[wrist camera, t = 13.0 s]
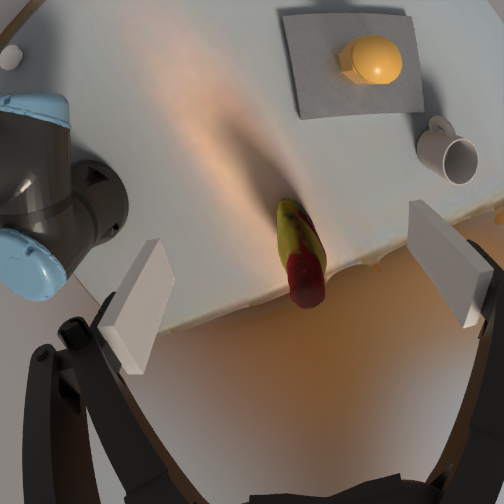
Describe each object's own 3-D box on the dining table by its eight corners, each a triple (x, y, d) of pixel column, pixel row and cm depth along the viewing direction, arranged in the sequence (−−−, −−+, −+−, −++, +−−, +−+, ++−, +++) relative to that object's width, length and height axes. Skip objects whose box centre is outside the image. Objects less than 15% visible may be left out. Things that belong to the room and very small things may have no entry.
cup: (420, 173, 45) (446, 191, 38) (406, 117, 41) (433, 126, 33) (452, 161, 44) (481, 178, 36) (440, 107, 39) (471, 115, 32)
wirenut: (342, 84, 38) (357, 84, 32) (335, 41, 35) (349, 34, 29) (384, 83, 37) (405, 84, 31) (378, 41, 34) (397, 36, 28)
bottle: (265, 197, 49) (269, 267, 31) (304, 185, 48) (330, 249, 30) (286, 258, 54) (298, 343, 37) (321, 248, 53) (348, 330, 36)
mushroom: (30, 60, 35) (13, 61, 31) (13, 74, 36) (-4, 76, 31) (25, 39, 33) (8, 39, 28) (8, 53, 33) (-9, 54, 29)
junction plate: (300, 118, 42) (305, 123, 37) (281, 18, 34) (284, 9, 30) (420, 111, 40) (437, 115, 35) (407, 17, 32) (423, 12, 27)
